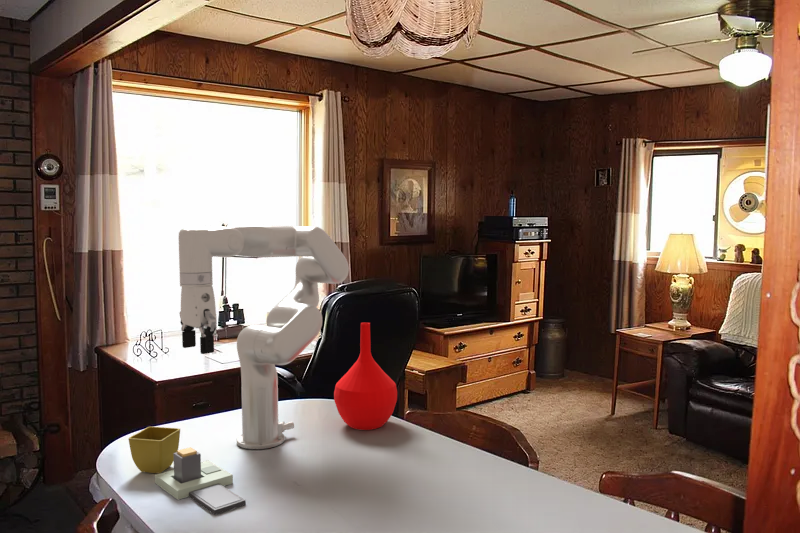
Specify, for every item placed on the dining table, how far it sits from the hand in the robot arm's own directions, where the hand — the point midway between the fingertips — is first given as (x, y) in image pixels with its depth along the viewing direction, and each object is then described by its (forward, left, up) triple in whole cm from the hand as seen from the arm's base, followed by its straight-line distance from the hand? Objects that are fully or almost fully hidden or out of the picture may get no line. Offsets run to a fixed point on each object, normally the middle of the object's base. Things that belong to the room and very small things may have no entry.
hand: (198, 350), depth 160 cm
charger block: (+8, +10, -28) cm, 31 cm away
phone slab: (+7, +22, -28) cm, 37 cm away
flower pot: (+10, -4, -28) cm, 30 cm away
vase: (-49, +4, -28) cm, 57 cm away
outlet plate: (+7, +10, -28) cm, 31 cm away
